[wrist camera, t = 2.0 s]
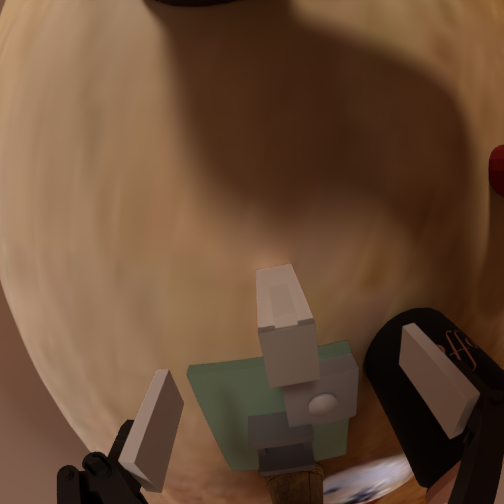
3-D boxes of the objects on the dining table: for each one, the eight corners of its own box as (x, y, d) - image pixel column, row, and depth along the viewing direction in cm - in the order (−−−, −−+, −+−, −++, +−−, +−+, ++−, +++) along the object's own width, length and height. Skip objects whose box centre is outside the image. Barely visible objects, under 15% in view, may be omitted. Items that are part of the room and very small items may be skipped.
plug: (254, 262, 24) (255, 322, 14) (289, 255, 24) (314, 311, 14) (263, 311, 25) (269, 387, 15) (296, 305, 25) (320, 378, 15)
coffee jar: (455, 307, 25) (556, 399, 8) (417, 382, 28) (481, 485, 11) (384, 296, 25) (500, 429, 7) (346, 381, 27) (399, 520, 10)
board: (189, 365, 27) (178, 402, 21) (346, 340, 26) (364, 374, 21) (233, 463, 32) (231, 493, 27) (343, 446, 31) (351, 475, 26)
